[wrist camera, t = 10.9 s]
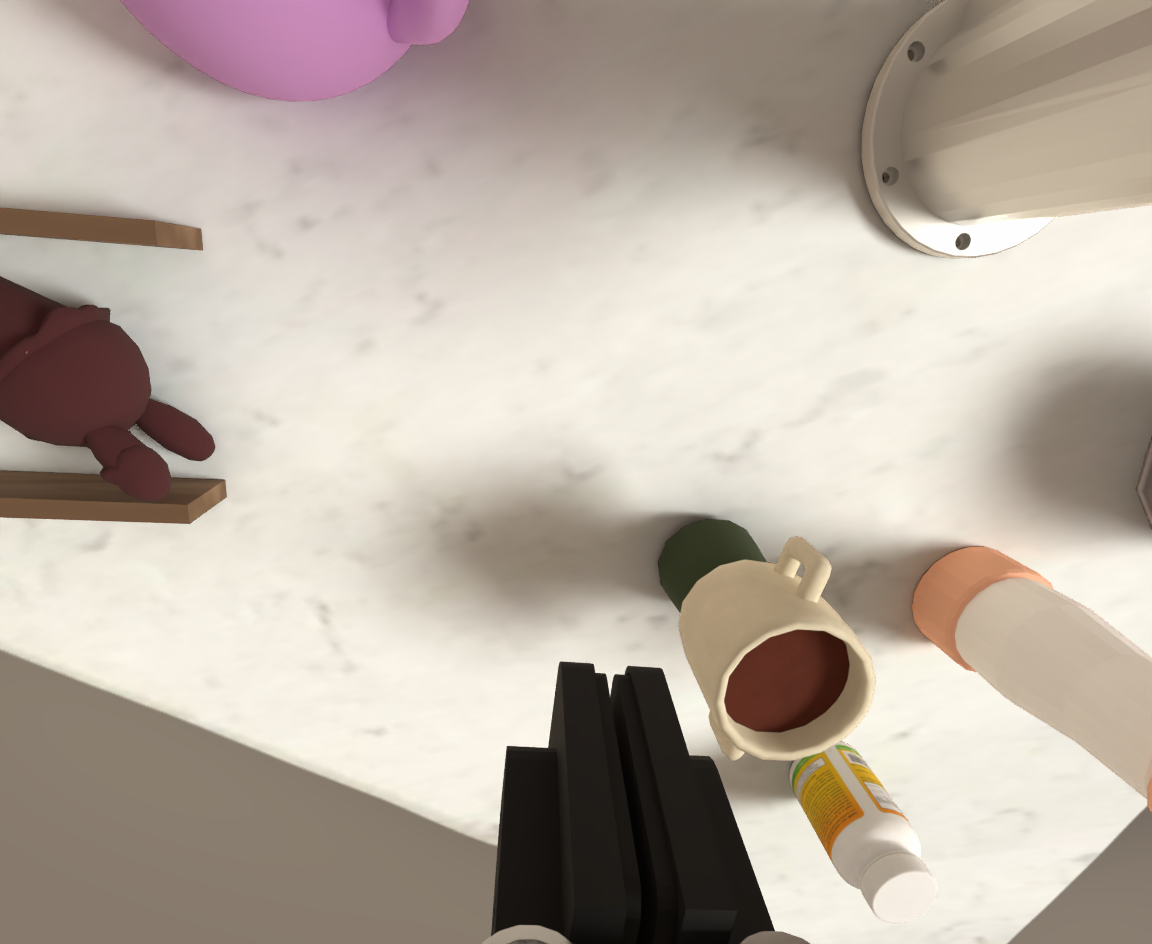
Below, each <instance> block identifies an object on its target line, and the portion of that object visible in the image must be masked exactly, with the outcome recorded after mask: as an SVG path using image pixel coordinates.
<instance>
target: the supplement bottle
mask: <svg viewBox="0 0 1152 944" xmlns="http://www.w3.org/2000/svg"><path fill="white" fill-rule="evenodd" d="M789 778H790V784H791V787H792V790H793V791H794V794H795V796H796V797H797V799H798V801H799V803H800V805H801V807H802V808H803V810H804V812H805V814H806V815H807V817H808V819H809V821H810V823H811V825H812V826H813V828H814V830H815V832H816V834H817V836H818V837H819V839H820V841H821V843H822V845H823V846H824V848H825V850H826V852H827V854H828V856H829V858H830V859H831V861H832V863H833V865H834V867H835V868H836V870H837V872H838V873H839V875H840V876H841V877H842V878H843V879H844V880H845V881H846V882H847V883H848V884H850V885H851V886H853V887H855V888H857V889H861V891H862V894H863V896H864V898H865V900H866V901H867V903H868V904H869V906H870V908H871V909H872V911H873V913H874V914H875V915H876V916H877V917H878V918H879V919H881V920H883V921H885V922H889V923H904V922H908V921H911V920H914V919H916V918H918V917H919V916H921V915H923V914H924V913H925V912H927V911H928V910H929V909H930V908H931V907H932V905H933V904H934V902H935V900H936V898H937V895H938V885H937V882H936V880H935V879H934V877H933V875H932V874H931V872H930V871H929V869H928V868H927V866H926V864H925V863H924V862H923V861H922V860H921V859H920V855H921V846H920V841H919V838H918V836H917V834H916V832H915V830H914V829H913V827H912V826H911V824H910V823H909V821H908V820H907V819H906V817H905V816H904V815H903V813H902V812H901V811H900V809H899V808H898V806H897V805H896V804H895V802H894V801H893V799H892V798H891V797H890V795H889V794H888V793H887V791H886V790H885V788H884V787H883V786H882V784H881V783H880V781H879V780H878V779H877V777H876V776H875V775H874V773H873V772H872V771H871V769H870V768H869V766H868V765H867V764H866V762H865V761H864V760H863V758H862V757H861V756H860V754H859V753H858V752H857V751H856V750H855V749H854V748H853V747H852V746H850V745H849V744H847V743H844V742H841V741H840V742H838V743H836V744H835V745H833V746H831V747H830V748H828V749H826V750H825V751H823V752H821V753H818V754H814V755H811V756H807V757H804V758H800V759H796V760H794V762H793V764H792V766H791V769H790V775H789Z"/></svg>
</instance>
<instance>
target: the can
mask: <svg viewBox="0 0 1152 944" xmlns="http://www.w3.org/2000/svg"><path fill="white" fill-rule="evenodd" d="M1136 491H1137V494H1138V496H1139V499H1140V501H1141V504H1142V506H1143V509H1144V511H1145V514H1146V516H1147V519H1148V521H1149V524H1150V526H1151V529H1152V437H1151V440H1150V443H1149V447H1148V450H1147V453H1146V457H1145V460H1144V463H1143V467H1142V470H1141V473H1140V476H1139V480H1138V483H1137V486H1136Z"/></svg>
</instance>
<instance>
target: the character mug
mask: <svg viewBox="0 0 1152 944" xmlns="http://www.w3.org/2000/svg"><path fill="white" fill-rule="evenodd" d="M800 563H801V564H802V565H803V566H804V567H805V573H804V575H803V577H802V578H801V577H800V576H798V575H796V572H797V570H798V568H799V565H800ZM658 567H659V576H660V584H661V586H662V587H663V589H664V590H665V592H666V593H667V595H668V596H669V598H670V599H671V601H672V602H673V603H674V605H675V606H676V608H677V609H678V610H679V612H680V613H681V614H680V619H679V625H678V626H679V632H680V636H681V640H682V644H683V648H684V652H685V655H686V658H687V660H688V662H689V664H690V667H691V669H692V671H693V673H694V675H695V678H696V680H697V682H698V684H699V687H700V689H701V691H702V693H703V695H704V698H705V700H706V702H707V704H708V707H709V709H710V713H709V721H710V725H711V727H712V730H713V732H714V734H715V736H716V739H717V741H718V743H719V746H720V748H721V750H722V752H723V753H724V754H725V755H726V756H727V757H728V758H729V759H731V760H732V761H734V760H737V759H739V758H740V757H741V756H742V755H743V754H744V752H745V753H747V754H750V755H752V756H754V757H757V758H759V759H761V760H782V761H793V760H796V759H800V758H804V757H807V756H811V755H814V754H818V753H821V752H823V751H825V750H826V749H828V748H830V747H831V746H833V745H835V744H836V743H838V742H840V741H841V740H843V739H844V738H846V737H847V736H848V735H849V734H850V733H851V732H852V731H853V730H854V729H855V728H856V727H857V726H858V725H859V724H860V722H861V721H862V719H863V718H864V717H865V715H866V714H867V712H868V710H869V708H870V705H871V703H872V700H873V696H874V690H875V684H876V678H875V673H874V668H873V663H872V659H871V656H870V655H869V653H868V652H867V650H866V649H865V648H864V646H863V645H862V643H861V642H860V641H859V639H858V638H857V637H856V635H855V634H854V632H853V631H852V630H851V628H850V627H849V626H848V625H847V624H846V623H845V622H844V621H843V620H842V618H841V617H840V615H839V614H838V613H837V612H836V611H835V610H834V609H833V608H832V607H831V606H830V605H829V604H828V603H827V602H826V601H825V600H824V599H823V598H822V597H821V596H820V595H821V593H822V591H823V589H824V587H825V585H826V583H827V581H828V579H829V577H830V572H831V568H832V567H831V565H830V563H829V561H828V560H827V559H826V558H825V557H824V556H823V555H822V554H820V553H819V552H818V551H817V550H816V549H815V548H814V547H813V546H811V545H810V544H809V543H808V542H807V541H806V540H805V539H803V538H802V537H797V536H796V537H792V538H790V539H789V540H788V541H787V543H786V544H785V546H784V548H783V550H782V553H781V555H780V557H779V559H778V561H777V564H774V563H767V562H766V560H765V558H764V557H763V555H762V553H761V552H760V550H759V548H758V547H757V545H756V544H755V542H754V541H753V539H752V538H751V536H750V535H749V533H748V532H747V530H746V529H744V528H742V527H740V526H738V525H737V524H735V523H733V522H731V521H728V520H712V519H705V520H702V521H699V522H696V523H693V524H690V525H687V526H684V527H683V528H682V529H680V530H679V531H678V532H677V533H676V534H675V535H674V536H673V537H671V538H670V539H669V540H668V541H667V542H666V544H665V546H664V549H663V551H662V554H661V556H660V559H659V561H658Z"/></svg>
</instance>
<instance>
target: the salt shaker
mask: <svg viewBox="0 0 1152 944" xmlns="http://www.w3.org/2000/svg"><path fill="white" fill-rule="evenodd" d="M912 611H913V617H914V621H915V623H916V625H917V626H918V628H919V630H920V631H921V633H922V634H924V635H925V636H926V637H927V638H928V639H929V640H931V641H932V642H933V643H934V644H935V645H936V646H937V647H939V648H940V649H941V650H942V651H943V652H944V653H946V654H947V655H948V656H949V657H950V658H951V659H953V660H954V661H955V662H956V663H958V664H959V665H961V666H962V667H963V668H965V669H966V670H970V671H974V672H977V673H978V674H980V675H981V676H982V677H983V678H984V679H985V680H986V681H987V682H988V683H990V684H991V685H992V686H993V687H994V688H995V689H996V690H997V691H998V692H1000V693H1001V694H1002V695H1003V696H1004V697H1005V698H1007V699H1008V700H1010V701H1011V702H1013V703H1014V704H1015V705H1017V706H1019V707H1020V708H1022V709H1023V710H1025V711H1027V712H1028V713H1030V714H1032V715H1033V716H1035V717H1036V718H1038V719H1040V720H1041V721H1043V722H1045V723H1046V724H1048V725H1049V726H1051V727H1053V728H1054V729H1056V730H1058V731H1059V732H1061V733H1062V734H1064V735H1066V736H1067V737H1069V738H1070V739H1072V740H1074V741H1075V742H1077V743H1078V744H1079V745H1080V746H1082V747H1083V748H1084V749H1085V750H1086V751H1088V752H1089V753H1090V754H1091V755H1093V756H1094V757H1095V758H1096V759H1098V760H1099V761H1100V762H1101V763H1103V764H1104V765H1105V766H1106V767H1108V768H1109V769H1110V770H1111V771H1112V772H1114V773H1115V774H1116V775H1117V776H1119V777H1120V778H1121V779H1122V780H1124V781H1125V782H1126V783H1127V784H1129V785H1130V786H1131V787H1132V788H1133V789H1135V790H1136V791H1137V792H1138V793H1140V794H1141V795H1142V796H1143V797H1145V798H1146V799H1147V805H1148V807H1149V809H1150V811H1151V813H1152V657H1150V656H1149V655H1148V654H1147V653H1145V652H1144V651H1143V650H1142V649H1140V648H1139V647H1138V646H1137V645H1135V644H1134V643H1133V642H1132V641H1130V640H1129V639H1128V638H1126V637H1125V636H1124V635H1123V634H1121V633H1120V632H1119V631H1118V630H1116V629H1115V628H1114V627H1113V626H1111V625H1110V624H1109V623H1108V622H1106V621H1105V620H1104V619H1103V618H1101V617H1100V616H1099V615H1097V614H1096V613H1095V612H1094V611H1092V610H1091V609H1090V608H1088V607H1086V606H1084V605H1082V604H1080V603H1078V602H1076V601H1074V600H1073V599H1071V598H1069V597H1067V596H1065V595H1063V594H1061V593H1059V592H1057V591H1056V590H1054V589H1053V587H1052V585H1051V583H1050V582H1049V581H1047V580H1046V579H1045V578H1044V577H1042V576H1041V575H1040V574H1039V573H1037V572H1035V571H1033V570H1031V569H1030V568H1028V567H1026V566H1024V565H1022V564H1021V563H1019V562H1017V561H1015V560H1013V559H1012V558H1010V557H1008V556H1006V555H1004V554H1003V553H1001V552H999V551H997V550H993V549H990V548H987V547H966V548H963V549H960V550H957V551H954V552H951V553H949V554H947V555H946V556H944V557H943V558H941V559H940V560H938V561H937V562H935V563H934V564H933V565H932V566H931V567H930V569H929V570H928V571H927V572H926V573H925V574H924V575H923V576H922V578H921V580H920V582H919V584H918V586H917V588H916V590H915V592H914V598H913V603H912Z"/></svg>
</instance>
